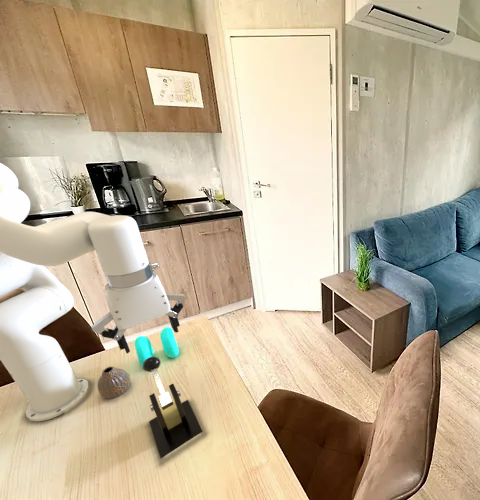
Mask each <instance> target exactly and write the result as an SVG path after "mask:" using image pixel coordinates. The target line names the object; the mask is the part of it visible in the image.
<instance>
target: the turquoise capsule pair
mask: <svg viewBox="0 0 480 500" xmlns="http://www.w3.org/2000/svg"><path fill="white" fill-rule="evenodd" d="M174 333H175V332H174V330H173V328H172V327H171V326H167V327H166V326H165V327H164V328H162V330H161V332H160V341H161V345H162V349H163V351H164V354H165V355H166V356H167V357H168V358H171V359H173V358H176V357H178V355H179V353H180V351H179V348H178V344H177V340H176V336H175V334H174ZM134 347H135V348H134V349H135V352H136V356H137V358H138V362H139V364H140V365H141V367H142V368H143V363H144V361H145V360H146V359H147V358H149V357H153V356H154V357H156V356H155V352H154V347H153V345H152V342H151V340H150V338H148V337H147V336H145V335H139V336H138V337H136V338H135V340H134Z"/></svg>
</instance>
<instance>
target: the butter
mask: <svg viewBox="0 0 480 500" xmlns="http://www.w3.org/2000/svg"><path fill="white" fill-rule="evenodd" d="M160 409H161V412H162V414H163V417H164V420H165V423H166V425H167V428H168V430H170V429H171V428H173V427H175V426H176V425H178V424H180V423H181V422H182V421H181V418H180V415H179V413H178V410H177V408H176V405H175V402H174V401H173V405H172V406H170V407H168V408H166V409H165V410H163V409H162V407H160Z"/></svg>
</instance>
